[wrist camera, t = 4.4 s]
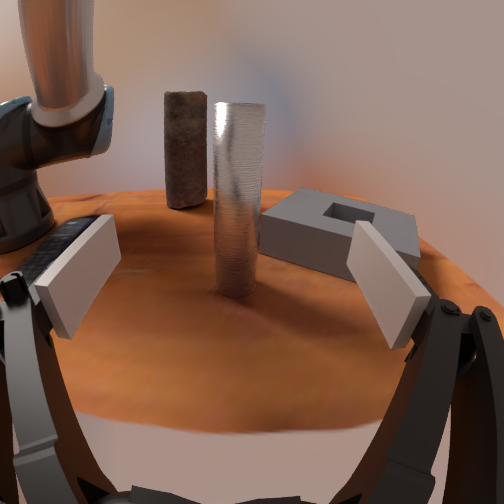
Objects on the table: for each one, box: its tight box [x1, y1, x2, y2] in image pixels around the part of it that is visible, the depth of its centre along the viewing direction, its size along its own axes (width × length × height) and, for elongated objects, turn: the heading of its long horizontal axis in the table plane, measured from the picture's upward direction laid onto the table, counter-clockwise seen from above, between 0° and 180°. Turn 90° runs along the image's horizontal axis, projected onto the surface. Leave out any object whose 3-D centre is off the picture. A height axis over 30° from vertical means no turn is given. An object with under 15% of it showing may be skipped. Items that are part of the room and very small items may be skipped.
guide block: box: [259, 187, 421, 283], centre depth 34 cm, size 18×14×5 cm
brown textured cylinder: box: [164, 91, 207, 209], centre depth 43 cm, size 8×7×20 cm
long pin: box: [213, 103, 266, 297], centre depth 23 cm, size 4×4×17 cm
